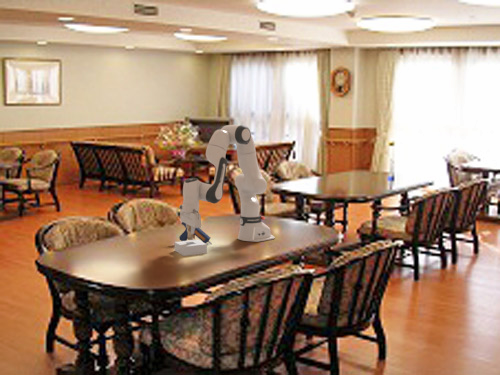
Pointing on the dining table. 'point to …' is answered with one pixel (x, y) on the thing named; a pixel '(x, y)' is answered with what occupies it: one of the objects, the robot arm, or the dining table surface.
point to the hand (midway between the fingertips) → (190, 232)
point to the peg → (190, 236)
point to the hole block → (190, 247)
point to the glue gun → (195, 234)
